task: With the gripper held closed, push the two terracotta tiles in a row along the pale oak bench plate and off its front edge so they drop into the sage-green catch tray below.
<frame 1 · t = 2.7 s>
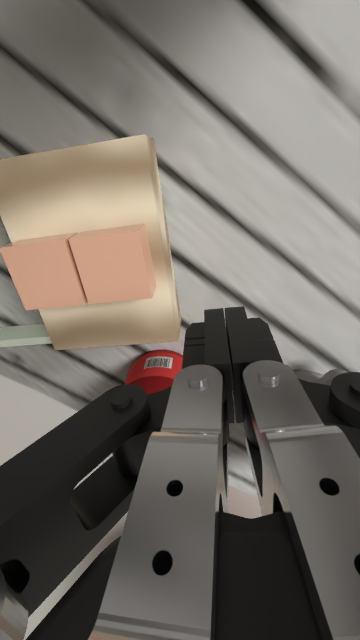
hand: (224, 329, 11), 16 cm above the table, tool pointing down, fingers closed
canned food: (163, 373, 34), on the table
bench plate: (105, 250, 27), on the table
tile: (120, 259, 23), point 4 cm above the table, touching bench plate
coffee mug: (304, 393, 33), on the table
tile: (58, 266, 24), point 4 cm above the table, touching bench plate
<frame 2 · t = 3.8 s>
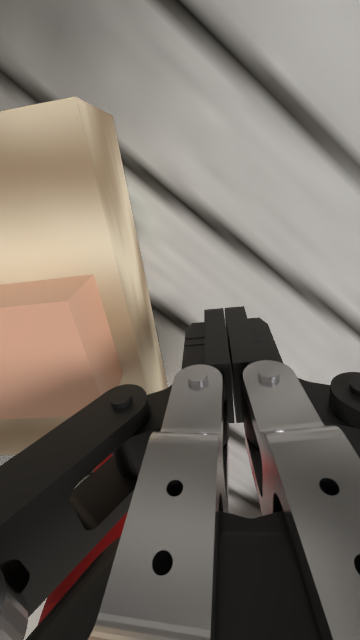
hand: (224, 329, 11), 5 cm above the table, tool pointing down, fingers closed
canned food: (147, 463, 23), on the table
bench plate: (47, 301, 17), on the table
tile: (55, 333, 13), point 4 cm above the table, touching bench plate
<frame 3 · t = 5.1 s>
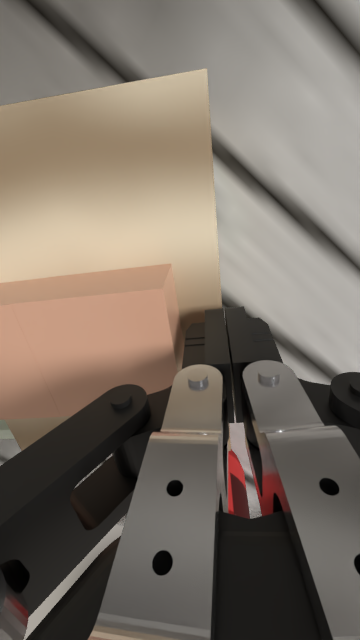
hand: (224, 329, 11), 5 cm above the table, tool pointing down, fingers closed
canned food: (191, 463, 23), on the table
bench plate: (109, 293, 16), on the table
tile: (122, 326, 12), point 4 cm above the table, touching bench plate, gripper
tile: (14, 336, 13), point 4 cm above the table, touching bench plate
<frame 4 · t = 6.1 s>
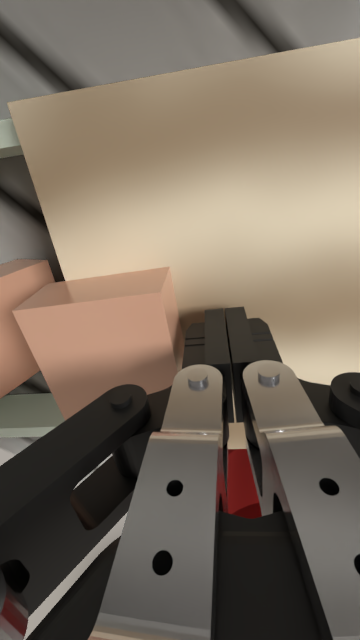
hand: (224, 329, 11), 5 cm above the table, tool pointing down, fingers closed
canned food: (268, 461, 22), on the table
bench plate: (216, 282, 15), on the table
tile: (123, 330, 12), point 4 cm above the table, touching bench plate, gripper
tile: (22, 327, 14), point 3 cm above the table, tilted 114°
catch tray: (24, 300, 17), on the table
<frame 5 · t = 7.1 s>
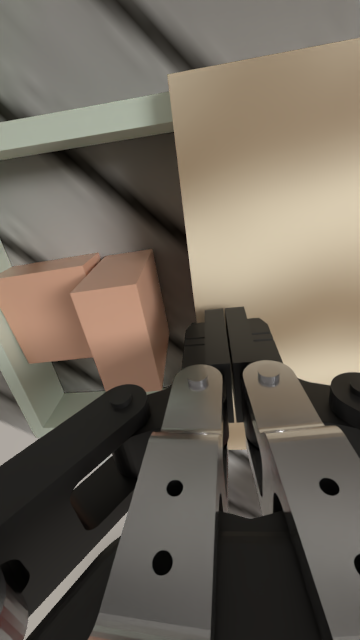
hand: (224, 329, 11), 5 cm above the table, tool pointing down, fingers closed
bench plate: (315, 274, 15), on the table
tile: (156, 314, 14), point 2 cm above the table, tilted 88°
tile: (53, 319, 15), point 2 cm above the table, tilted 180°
catch tray: (108, 293, 16), on the table
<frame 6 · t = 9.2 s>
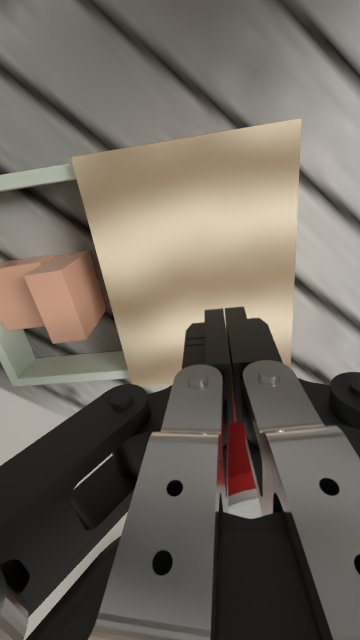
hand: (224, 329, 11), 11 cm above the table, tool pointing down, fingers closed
canned food: (244, 407, 29), on the table
bench plate: (197, 265, 22), on the table
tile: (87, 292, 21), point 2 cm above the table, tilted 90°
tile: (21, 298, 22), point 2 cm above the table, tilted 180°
catch tray: (62, 281, 23), on the table
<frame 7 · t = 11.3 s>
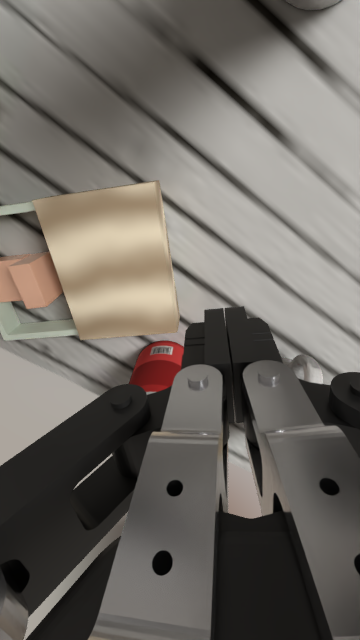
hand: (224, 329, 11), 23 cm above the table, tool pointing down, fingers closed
canned food: (165, 360, 41), on the table
bench plate: (121, 261, 34), on the table
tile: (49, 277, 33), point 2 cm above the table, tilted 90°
coffee mug: (280, 376, 41), on the table
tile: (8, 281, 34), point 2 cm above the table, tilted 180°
catch tray: (35, 271, 36), on the table
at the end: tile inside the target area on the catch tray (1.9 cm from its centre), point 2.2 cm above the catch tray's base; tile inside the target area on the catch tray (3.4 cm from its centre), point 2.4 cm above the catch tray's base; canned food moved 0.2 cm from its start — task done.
